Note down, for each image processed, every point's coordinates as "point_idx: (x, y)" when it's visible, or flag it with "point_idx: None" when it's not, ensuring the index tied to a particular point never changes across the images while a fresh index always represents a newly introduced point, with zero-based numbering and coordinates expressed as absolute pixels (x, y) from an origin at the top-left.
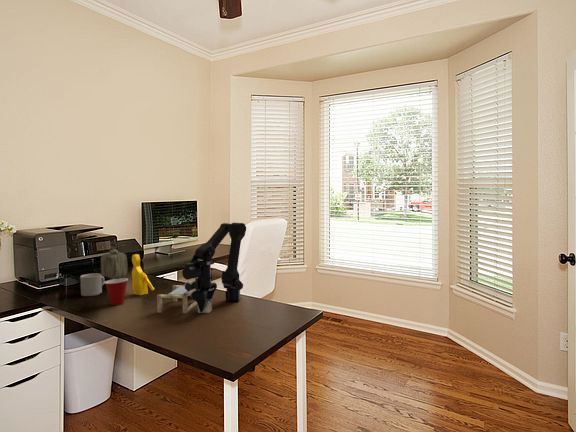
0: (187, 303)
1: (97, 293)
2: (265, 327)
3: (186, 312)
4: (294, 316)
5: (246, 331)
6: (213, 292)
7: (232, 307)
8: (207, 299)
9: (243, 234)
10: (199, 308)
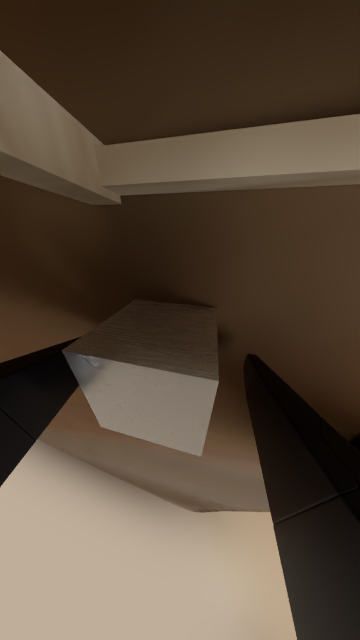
0: (5, 153)
1: None
2: (89, 450)
3: (87, 202)
4: (157, 488)
5: (56, 427)
6: (292, 611)
7: (233, 437)
8: (184, 432)
9: None
10: (68, 344)
